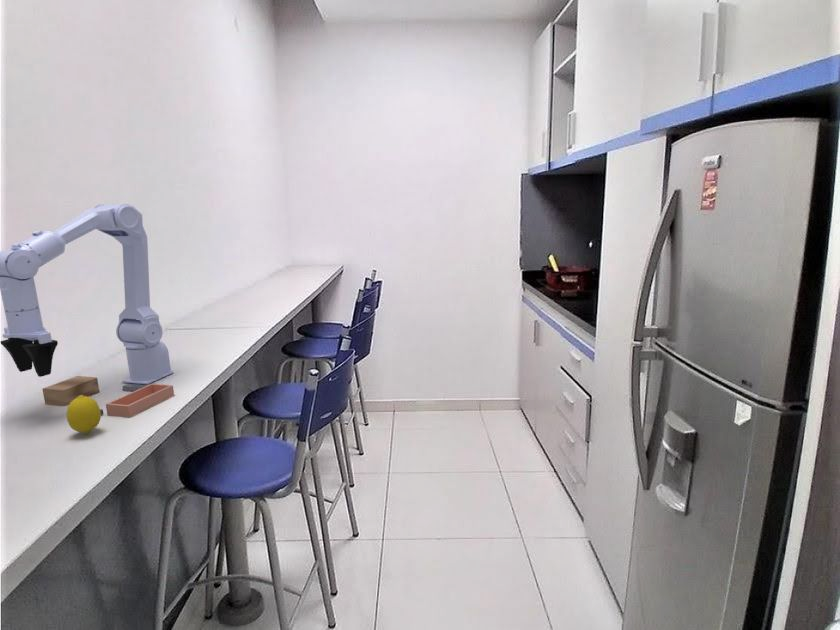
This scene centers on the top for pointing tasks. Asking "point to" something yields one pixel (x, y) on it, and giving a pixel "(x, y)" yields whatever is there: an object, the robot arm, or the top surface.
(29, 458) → the top surface
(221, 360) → the top surface
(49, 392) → the block
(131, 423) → the top surface
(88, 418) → the lemon
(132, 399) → the tray
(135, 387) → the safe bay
